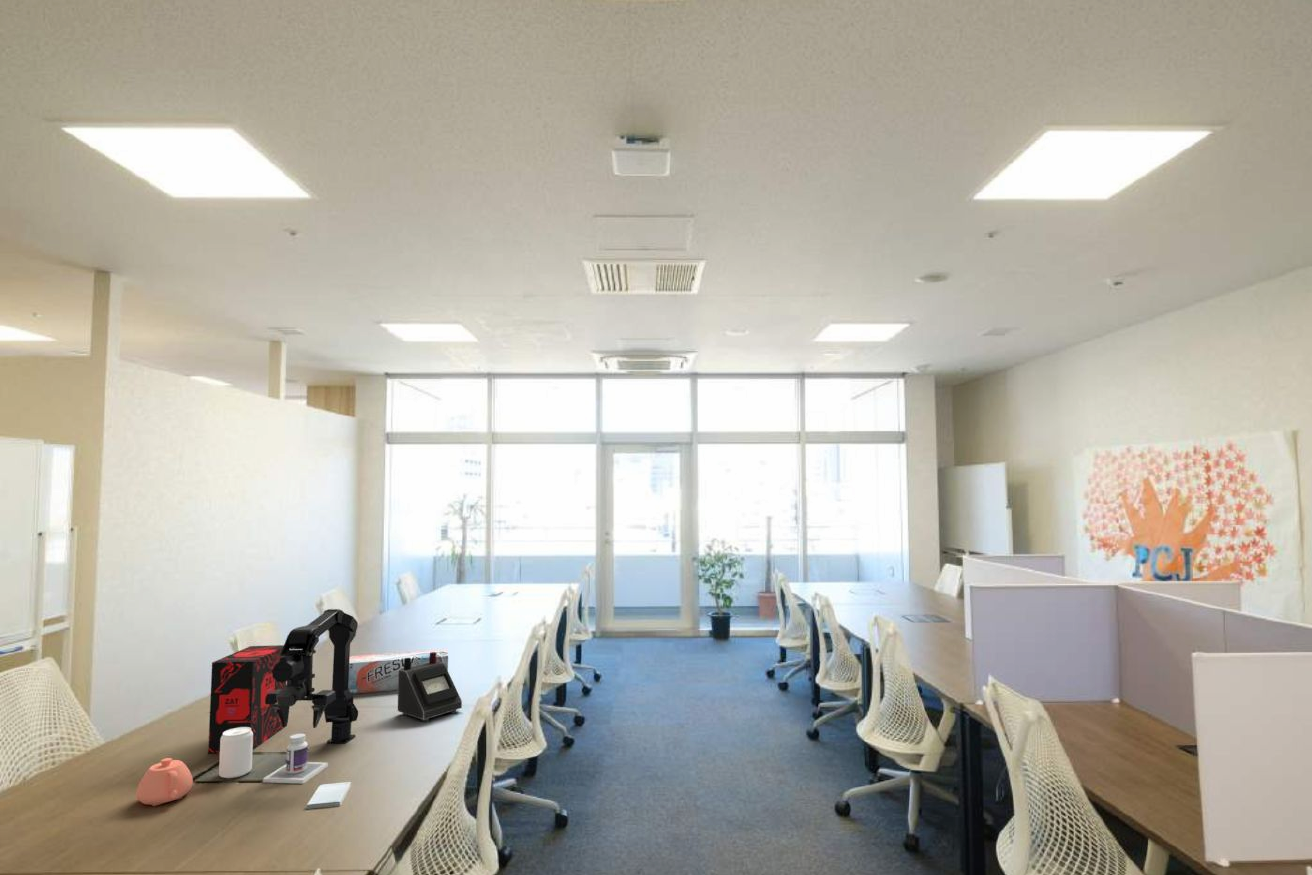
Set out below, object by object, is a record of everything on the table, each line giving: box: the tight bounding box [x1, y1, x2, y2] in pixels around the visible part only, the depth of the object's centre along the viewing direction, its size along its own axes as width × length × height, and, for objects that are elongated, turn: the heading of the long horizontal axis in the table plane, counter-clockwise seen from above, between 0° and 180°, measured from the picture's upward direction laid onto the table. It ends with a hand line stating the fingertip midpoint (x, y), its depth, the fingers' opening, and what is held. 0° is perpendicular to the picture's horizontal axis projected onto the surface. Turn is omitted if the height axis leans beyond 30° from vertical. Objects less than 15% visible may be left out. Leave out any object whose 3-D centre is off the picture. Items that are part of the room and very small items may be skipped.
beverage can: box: [218, 727, 253, 779], centre depth 197 cm, size 8×8×12 cm
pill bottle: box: [285, 733, 309, 774], centre depth 196 cm, size 5×5×10 cm
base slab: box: [262, 761, 329, 785], centre depth 196 cm, size 12×12×1 cm
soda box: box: [348, 648, 449, 695], centre depth 285 cm, size 41×14×13 cm, turn 109°
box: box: [207, 644, 287, 755], centre depth 225 cm, size 23×12×28 cm, turn 4°
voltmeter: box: [397, 652, 463, 723], centre depth 250 cm, size 16×16×20 cm
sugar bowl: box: [135, 757, 194, 807], centre depth 181 cm, size 12×14×10 cm
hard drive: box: [305, 781, 352, 810], centre depth 181 cm, size 2×8×12 cm
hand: (299, 727), depth 198 cm, fingers open, 9 cm apart
